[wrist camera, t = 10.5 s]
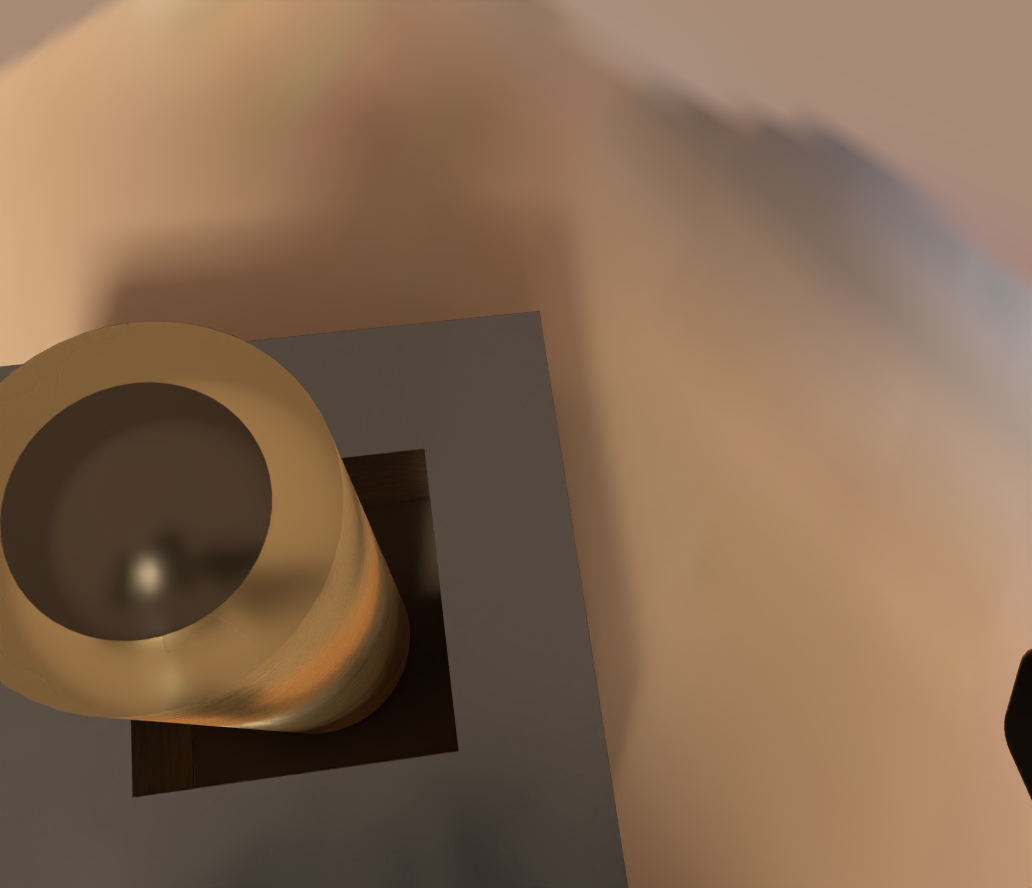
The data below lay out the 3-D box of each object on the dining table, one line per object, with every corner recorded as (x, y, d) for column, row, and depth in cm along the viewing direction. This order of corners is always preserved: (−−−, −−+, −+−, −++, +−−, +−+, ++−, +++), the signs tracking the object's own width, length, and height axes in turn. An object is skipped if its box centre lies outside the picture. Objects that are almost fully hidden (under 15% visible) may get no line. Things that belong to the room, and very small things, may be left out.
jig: (597, 861, 21) (627, 888, 17) (66, 942, 20) (-30, 991, 16) (527, 381, 24) (539, 311, 20) (64, 431, 23) (-17, 368, 19)
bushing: (418, 719, 21) (359, 686, 9) (231, 745, 21) (-84, 745, 9) (400, 539, 22) (325, 300, 10) (222, 561, 22) (-69, 340, 10)
